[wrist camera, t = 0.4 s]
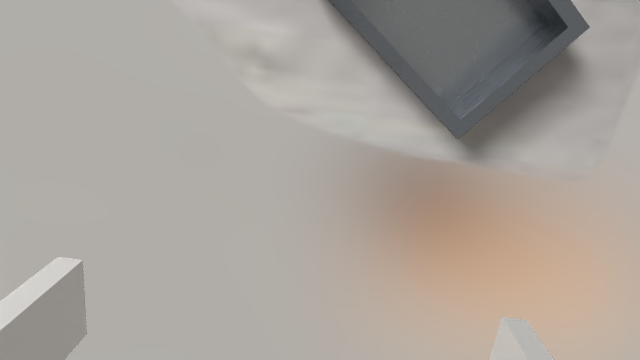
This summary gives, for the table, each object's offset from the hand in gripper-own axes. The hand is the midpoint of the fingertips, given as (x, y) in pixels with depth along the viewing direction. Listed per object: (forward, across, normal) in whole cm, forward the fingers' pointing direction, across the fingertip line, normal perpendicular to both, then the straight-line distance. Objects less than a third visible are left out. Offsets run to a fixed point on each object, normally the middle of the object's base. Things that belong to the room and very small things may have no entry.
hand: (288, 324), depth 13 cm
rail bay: (+23, +7, +12) cm, 27 cm away
